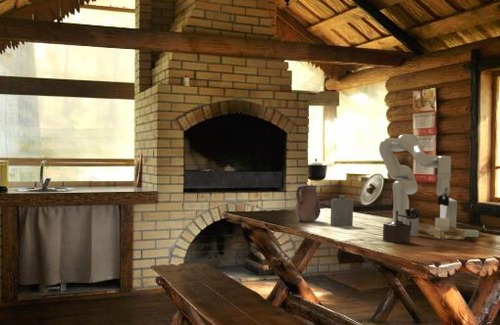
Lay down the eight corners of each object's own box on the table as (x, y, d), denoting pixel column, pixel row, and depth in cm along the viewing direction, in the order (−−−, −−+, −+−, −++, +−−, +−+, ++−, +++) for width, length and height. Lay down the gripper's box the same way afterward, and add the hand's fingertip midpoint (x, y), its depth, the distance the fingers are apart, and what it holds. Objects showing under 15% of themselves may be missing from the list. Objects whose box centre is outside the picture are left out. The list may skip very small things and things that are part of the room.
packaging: (456, 233, 348) (457, 201, 348) (445, 232, 349) (446, 200, 349) (449, 228, 378) (450, 198, 378) (439, 227, 379) (440, 197, 379)
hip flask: (331, 226, 366) (332, 195, 366) (328, 225, 370) (329, 195, 370) (353, 226, 372) (354, 195, 371) (350, 225, 375) (351, 195, 375)
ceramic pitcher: (324, 221, 395) (325, 185, 395) (310, 223, 377) (311, 186, 377) (301, 219, 404) (302, 184, 404) (287, 221, 387) (288, 185, 386)
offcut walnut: (444, 234, 327) (444, 231, 327) (443, 233, 331) (443, 230, 331) (451, 234, 326) (451, 231, 326) (450, 233, 330) (451, 230, 330)
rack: (439, 238, 321) (440, 229, 321) (425, 232, 347) (426, 224, 347) (464, 239, 321) (464, 230, 321) (448, 233, 347) (448, 225, 347)
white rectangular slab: (436, 235, 337) (436, 218, 337) (434, 234, 339) (435, 217, 339) (448, 235, 337) (449, 218, 337) (447, 234, 339) (447, 218, 339)
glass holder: (421, 235, 332) (422, 210, 332) (408, 237, 323) (409, 210, 323) (408, 233, 339) (409, 208, 339) (395, 235, 329) (395, 209, 329)
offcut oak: (445, 238, 326) (445, 234, 326) (441, 237, 331) (441, 233, 331) (453, 238, 326) (453, 234, 326) (450, 237, 331) (450, 233, 331)
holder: (458, 236, 333) (458, 230, 333) (453, 234, 340) (453, 229, 340) (479, 237, 333) (479, 231, 333) (474, 235, 340) (474, 229, 340)
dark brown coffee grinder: (396, 243, 295) (397, 209, 295) (382, 240, 305) (383, 207, 305) (418, 242, 303) (419, 208, 303) (403, 239, 312) (404, 206, 312)
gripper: (432, 176, 347) (432, 204, 347) (442, 176, 329) (441, 206, 329) (445, 176, 347) (444, 204, 347) (455, 177, 329) (454, 206, 329)
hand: (443, 205), depth 338 cm, fingers open, 9 cm apart
